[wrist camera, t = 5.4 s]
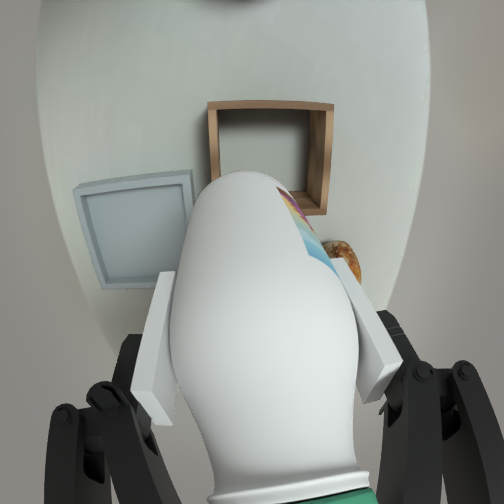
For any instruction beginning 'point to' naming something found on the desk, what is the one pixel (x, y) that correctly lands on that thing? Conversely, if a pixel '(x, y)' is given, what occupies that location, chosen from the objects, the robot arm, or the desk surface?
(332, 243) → the bagel
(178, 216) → the tray
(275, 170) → the desk surface
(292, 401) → the milk bottle
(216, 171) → the open wooden box frame
